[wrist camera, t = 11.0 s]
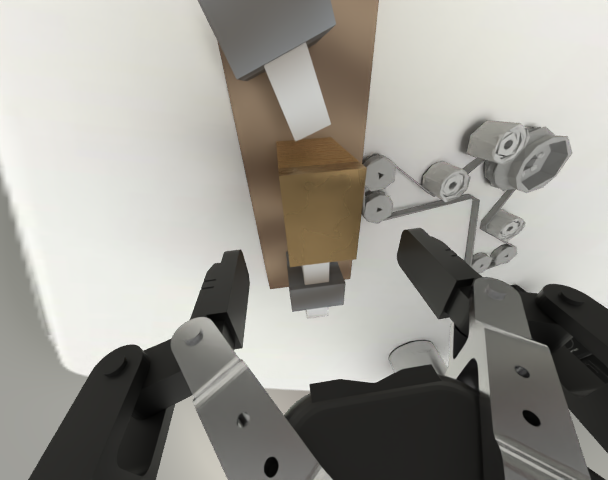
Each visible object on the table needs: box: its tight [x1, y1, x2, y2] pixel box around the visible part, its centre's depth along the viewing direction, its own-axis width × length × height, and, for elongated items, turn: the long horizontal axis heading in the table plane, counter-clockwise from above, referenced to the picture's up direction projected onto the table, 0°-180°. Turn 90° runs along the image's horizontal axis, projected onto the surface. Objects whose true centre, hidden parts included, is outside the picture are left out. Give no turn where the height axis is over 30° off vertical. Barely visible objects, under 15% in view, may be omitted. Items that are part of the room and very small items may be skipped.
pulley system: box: [362, 120, 572, 273], centre depth 23 cm, size 27×5×15 cm
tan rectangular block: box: [276, 137, 367, 267], centre depth 16 cm, size 6×4×8 cm
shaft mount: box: [198, 0, 379, 319], centre depth 17 cm, size 27×10×7 cm, turn 3°
